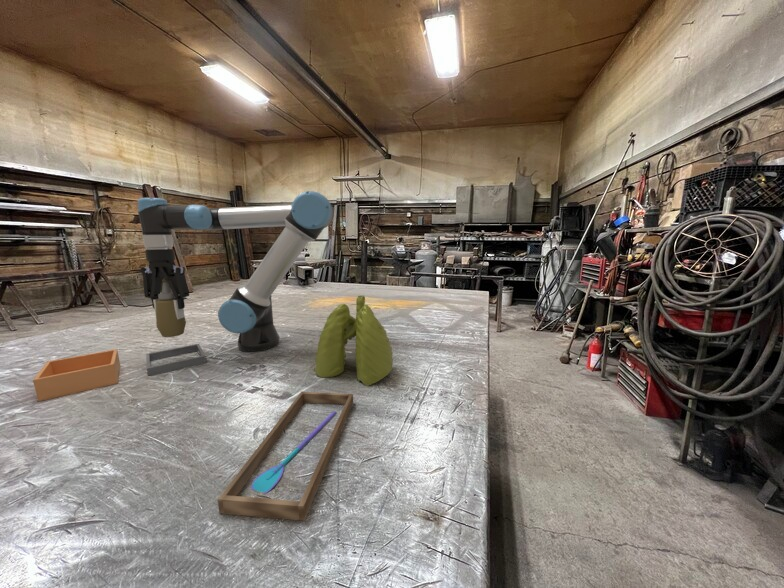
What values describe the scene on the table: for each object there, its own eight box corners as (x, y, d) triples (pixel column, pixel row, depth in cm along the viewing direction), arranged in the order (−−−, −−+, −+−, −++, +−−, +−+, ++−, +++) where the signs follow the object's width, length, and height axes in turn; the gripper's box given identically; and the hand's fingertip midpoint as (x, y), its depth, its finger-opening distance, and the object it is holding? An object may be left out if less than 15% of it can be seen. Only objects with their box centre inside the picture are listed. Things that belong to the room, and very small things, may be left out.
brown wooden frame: (353, 403, 77) (353, 394, 77) (304, 520, 45) (303, 506, 45) (302, 400, 78) (301, 391, 78) (219, 513, 47) (217, 499, 46)
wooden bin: (120, 366, 101) (117, 349, 100) (117, 383, 89) (113, 364, 88) (51, 380, 91) (47, 361, 90) (38, 401, 79) (32, 380, 78)
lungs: (400, 367, 98) (399, 294, 94) (380, 389, 84) (379, 305, 79) (334, 356, 107) (330, 290, 103) (306, 375, 93) (301, 298, 88)
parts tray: (199, 349, 115) (198, 343, 114) (206, 362, 103) (205, 355, 102) (147, 360, 105) (146, 353, 105) (148, 376, 93) (146, 368, 93)
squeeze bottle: (193, 331, 106) (185, 280, 102) (174, 339, 98) (166, 284, 94) (172, 331, 107) (164, 280, 103) (151, 338, 99) (142, 284, 95)
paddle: (266, 499, 49) (265, 492, 49) (246, 492, 51) (245, 486, 51) (339, 415, 73) (339, 410, 73) (324, 411, 74) (324, 407, 74)
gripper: (196, 247, 99) (205, 315, 104) (142, 248, 101) (153, 314, 106) (178, 248, 92) (189, 321, 96) (120, 249, 94) (133, 320, 98)
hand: (170, 317), depth 101 cm, fingers closed on squeeze bottle, 6 cm apart
